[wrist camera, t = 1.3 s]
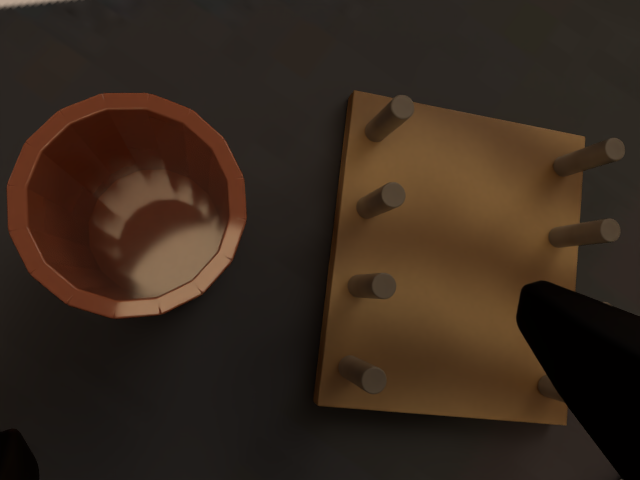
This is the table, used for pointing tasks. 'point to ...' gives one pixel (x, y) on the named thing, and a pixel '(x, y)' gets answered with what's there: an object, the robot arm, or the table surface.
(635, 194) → the table surface
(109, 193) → the cup
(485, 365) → the dish rack
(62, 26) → the table surface
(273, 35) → the table surface
